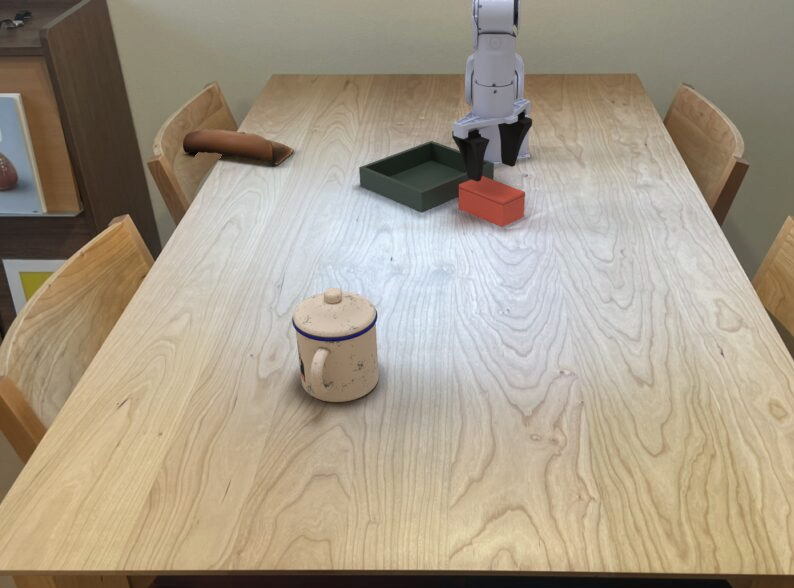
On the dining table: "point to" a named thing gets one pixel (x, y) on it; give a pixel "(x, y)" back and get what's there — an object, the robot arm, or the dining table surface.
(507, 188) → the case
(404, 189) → the tote
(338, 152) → the dining table surface
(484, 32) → the robot arm
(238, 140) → the sunglasses case
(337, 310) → the teacup with lid
